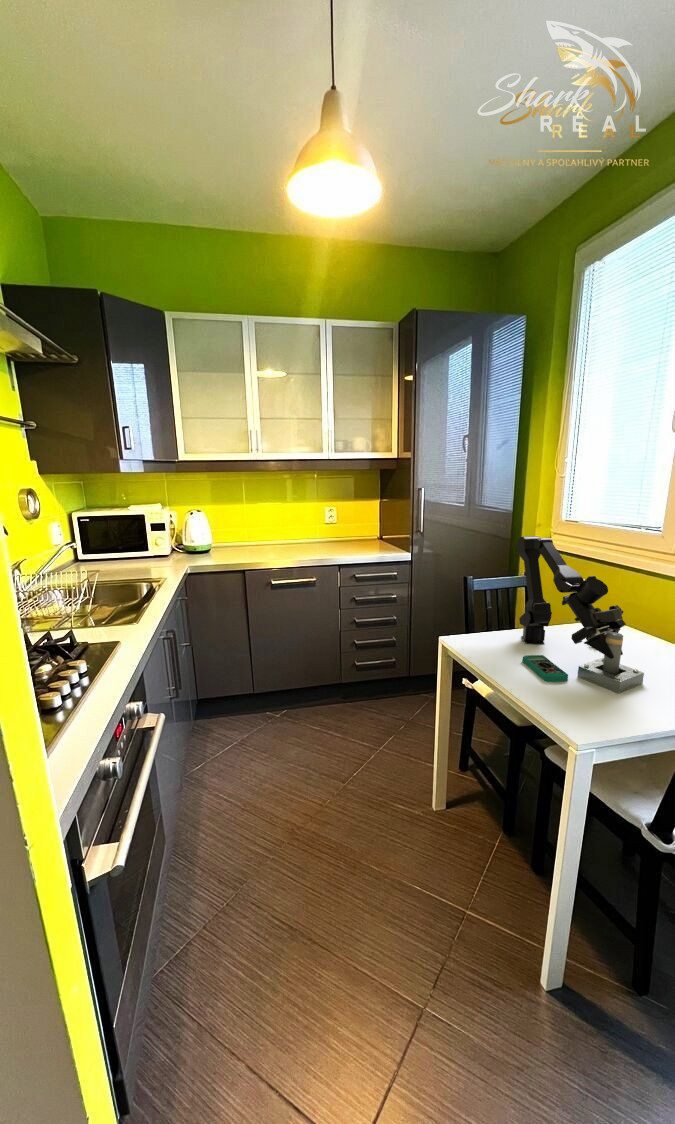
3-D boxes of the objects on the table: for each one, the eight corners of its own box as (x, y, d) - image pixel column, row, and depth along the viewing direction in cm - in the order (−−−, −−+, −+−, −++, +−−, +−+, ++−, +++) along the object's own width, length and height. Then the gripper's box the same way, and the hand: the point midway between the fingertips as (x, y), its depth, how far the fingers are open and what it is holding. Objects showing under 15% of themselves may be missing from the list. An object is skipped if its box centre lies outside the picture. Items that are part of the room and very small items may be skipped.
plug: (605, 678, 124) (610, 636, 121) (599, 672, 128) (604, 631, 125) (620, 679, 123) (626, 637, 121) (613, 673, 127) (619, 632, 125)
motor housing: (577, 676, 128) (578, 664, 127) (601, 668, 134) (602, 656, 133) (618, 693, 118) (620, 680, 117) (642, 683, 123) (644, 670, 122)
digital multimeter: (545, 684, 125) (546, 674, 124) (521, 662, 140) (521, 654, 139) (569, 683, 125) (570, 674, 125) (542, 662, 140) (543, 653, 139)
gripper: (585, 601, 120) (621, 651, 113) (623, 592, 129) (658, 638, 121) (557, 620, 129) (589, 667, 121) (594, 610, 137) (626, 654, 130)
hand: (617, 656), depth 123 cm, fingers closed on plug, 4 cm apart
